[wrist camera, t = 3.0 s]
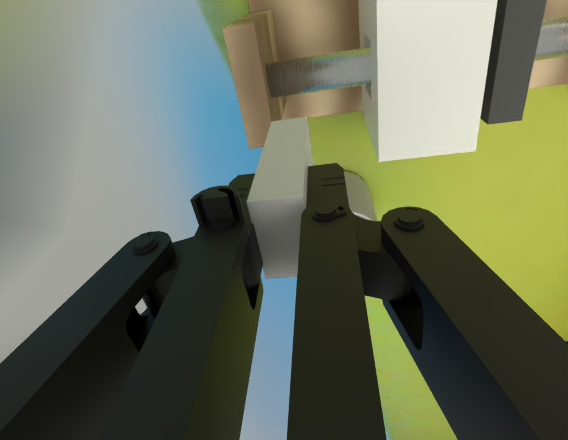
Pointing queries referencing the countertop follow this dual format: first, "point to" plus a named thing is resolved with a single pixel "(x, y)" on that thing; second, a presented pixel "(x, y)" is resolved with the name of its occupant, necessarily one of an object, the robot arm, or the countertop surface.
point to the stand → (309, 42)
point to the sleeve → (425, 74)
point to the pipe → (357, 64)
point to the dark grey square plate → (511, 59)
